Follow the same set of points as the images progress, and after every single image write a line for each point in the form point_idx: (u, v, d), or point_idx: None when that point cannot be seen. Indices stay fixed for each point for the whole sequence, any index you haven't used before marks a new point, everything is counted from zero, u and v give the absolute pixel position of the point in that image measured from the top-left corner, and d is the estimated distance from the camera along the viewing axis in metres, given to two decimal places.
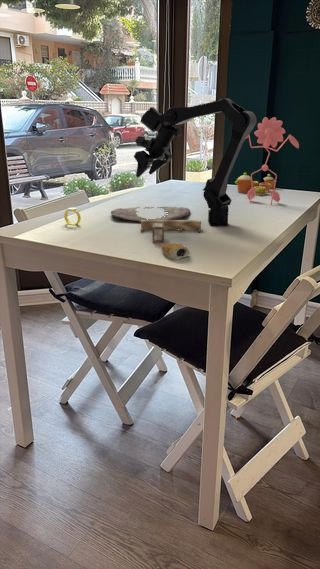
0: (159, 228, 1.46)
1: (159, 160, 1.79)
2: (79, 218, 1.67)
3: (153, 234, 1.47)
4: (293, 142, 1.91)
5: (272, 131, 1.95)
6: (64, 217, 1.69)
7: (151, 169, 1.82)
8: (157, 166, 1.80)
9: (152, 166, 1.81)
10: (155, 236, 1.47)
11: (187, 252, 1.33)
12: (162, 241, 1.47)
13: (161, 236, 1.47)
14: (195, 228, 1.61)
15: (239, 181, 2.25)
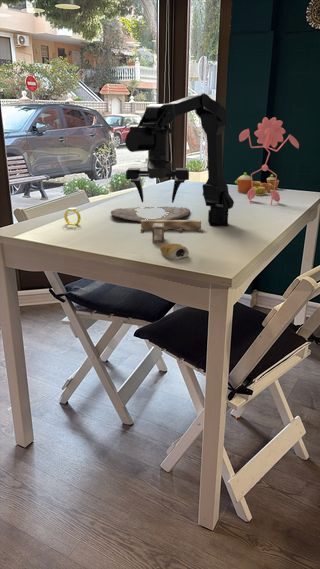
0: (159, 228, 1.46)
1: (140, 180, 1.44)
2: (79, 218, 1.67)
3: (153, 234, 1.47)
4: (293, 142, 1.91)
5: (272, 131, 1.95)
6: (64, 217, 1.69)
7: None
8: None
9: (142, 193, 1.44)
10: (155, 236, 1.47)
11: (186, 252, 1.33)
12: (162, 241, 1.47)
13: (161, 236, 1.47)
14: (195, 228, 1.61)
15: (239, 181, 2.25)
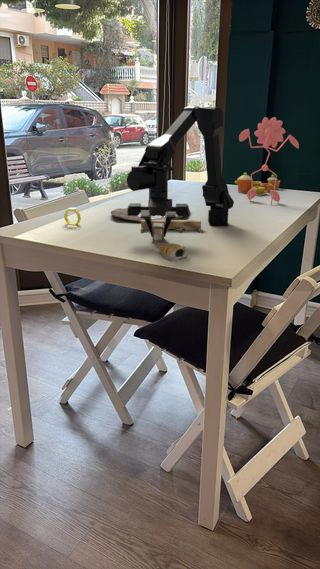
0: (159, 228, 1.46)
1: (150, 215, 1.48)
2: (79, 218, 1.67)
3: (153, 234, 1.47)
4: (293, 142, 1.91)
5: (272, 131, 1.95)
6: (64, 217, 1.69)
7: None
8: (151, 222, 1.49)
9: (151, 228, 1.48)
10: (155, 236, 1.47)
11: (185, 252, 1.33)
12: (162, 241, 1.47)
13: (161, 236, 1.47)
14: (195, 228, 1.61)
15: (239, 181, 2.25)
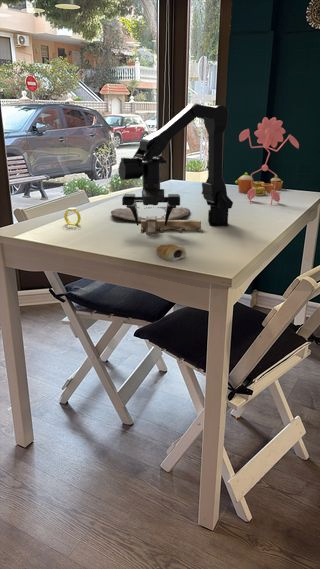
0: (152, 220, 1.55)
1: (136, 205, 1.56)
2: (79, 218, 1.67)
3: (147, 226, 1.56)
4: (293, 142, 1.91)
5: (272, 131, 1.95)
6: (64, 217, 1.69)
7: (138, 220, 1.57)
8: (137, 212, 1.58)
9: (137, 217, 1.57)
10: (148, 228, 1.56)
11: (184, 253, 1.32)
12: (155, 233, 1.56)
13: (154, 228, 1.56)
14: (195, 228, 1.61)
15: (239, 181, 2.25)
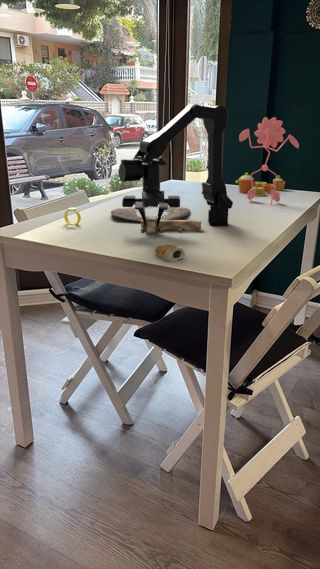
0: (152, 220, 1.55)
1: (144, 207, 1.57)
2: (79, 218, 1.67)
3: (146, 226, 1.56)
4: (293, 142, 1.91)
5: (272, 131, 1.95)
6: (64, 217, 1.69)
7: None
8: (145, 213, 1.58)
9: None
10: (148, 228, 1.56)
11: (182, 253, 1.32)
12: (155, 233, 1.56)
13: (154, 228, 1.56)
14: (195, 228, 1.61)
15: (239, 181, 2.25)
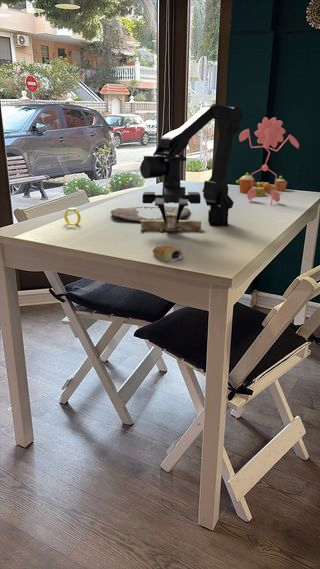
0: (172, 217, 1.54)
1: (163, 203, 1.56)
2: (79, 218, 1.67)
3: (166, 222, 1.55)
4: (293, 142, 1.91)
5: (272, 131, 1.95)
6: (64, 217, 1.69)
7: (165, 218, 1.57)
8: None
9: (165, 215, 1.56)
10: (168, 224, 1.55)
11: (181, 254, 1.31)
12: (175, 229, 1.56)
13: (174, 224, 1.55)
14: (195, 228, 1.61)
15: (239, 181, 2.26)
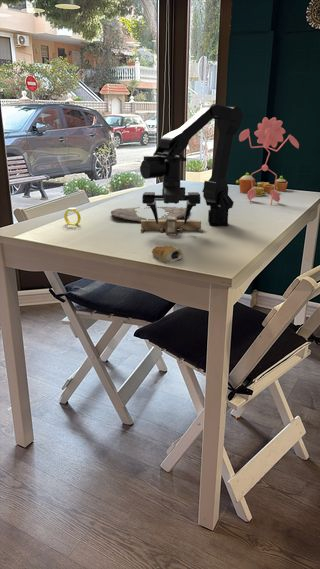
0: (172, 221, 1.55)
1: (155, 203, 1.56)
2: (79, 218, 1.67)
3: (166, 226, 1.55)
4: (293, 142, 1.91)
5: (272, 131, 1.95)
6: (64, 217, 1.69)
7: (157, 218, 1.57)
8: None
9: (156, 215, 1.56)
10: (168, 228, 1.56)
11: (181, 254, 1.31)
12: (175, 233, 1.56)
13: (174, 228, 1.56)
14: (195, 228, 1.61)
15: (239, 181, 2.26)
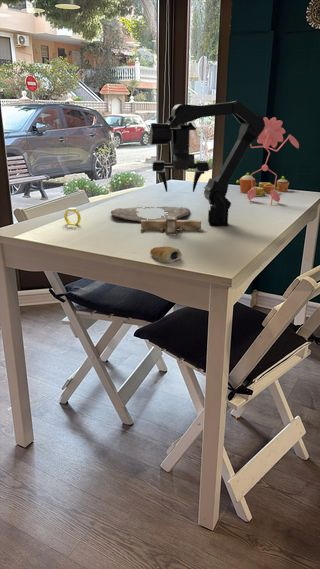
0: (172, 221, 1.55)
1: (165, 172, 1.61)
2: (79, 218, 1.67)
3: (166, 226, 1.55)
4: (293, 142, 1.91)
5: (272, 131, 1.95)
6: (64, 217, 1.69)
7: None
8: None
9: None
10: (168, 228, 1.56)
11: (179, 255, 1.31)
12: (175, 233, 1.56)
13: (174, 228, 1.56)
14: (195, 228, 1.61)
15: (240, 181, 2.26)
